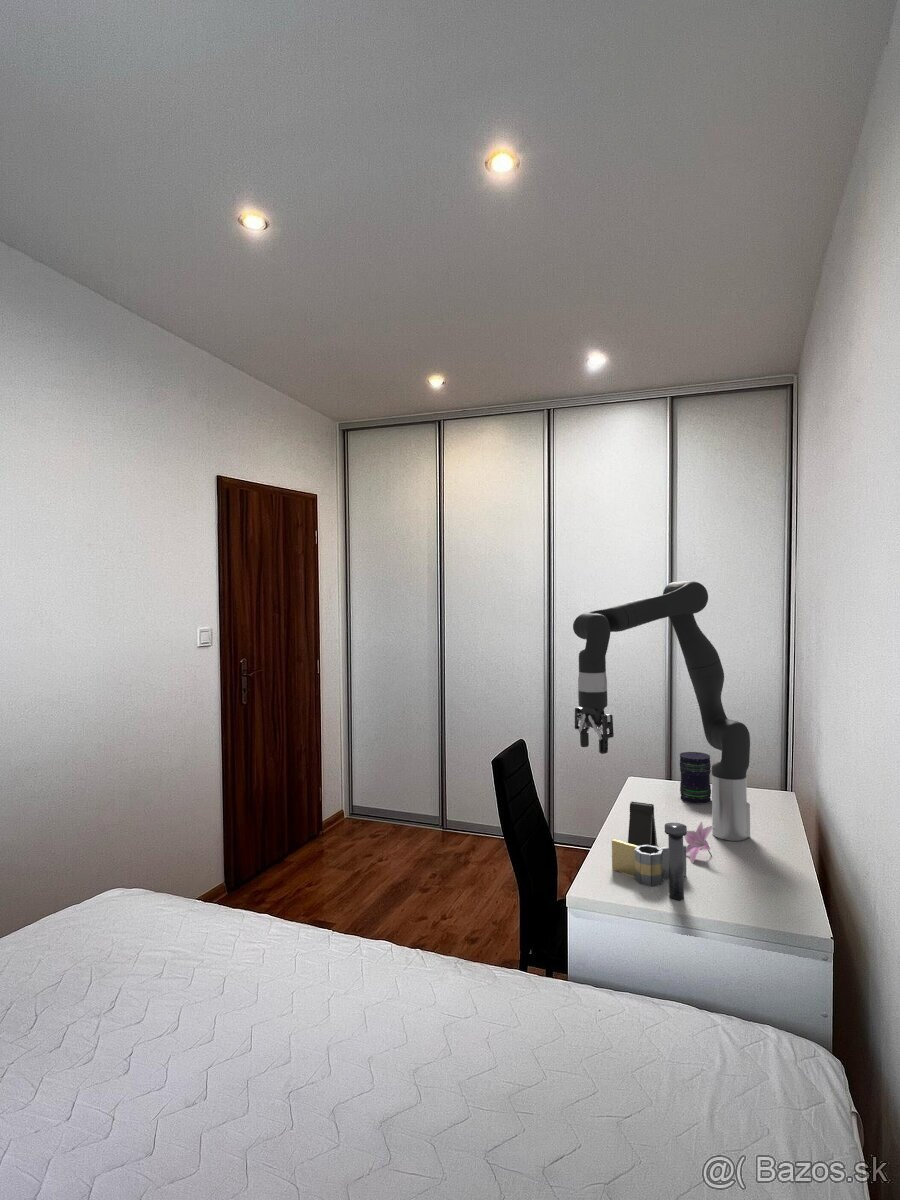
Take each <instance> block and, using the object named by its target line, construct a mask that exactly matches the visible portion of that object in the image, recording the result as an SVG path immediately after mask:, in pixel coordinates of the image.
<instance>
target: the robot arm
mask: <svg viewBox="0 0 900 1200" xmlns="http://www.w3.org/2000/svg"><path fill="white" fill-rule="evenodd" d="M708 601H709V594H708V590H707V588H706V587H705V586H704V585H703V584H702V583H700V582H698V581H692V580H685V581H674V582H670V583H668V584H667V585H666V586H665V587H664V590H663V593H662V595H657V596H652V597H651V596H650V597H646V598H639V599H635V600H631V601H626V602H623V603H620V604H617V605H614V606H611V607H609V608H608V607H607V608H603V609H596V610H591V611H588V612H584V613H581V614H579V615H578V616H577V617H576V618H575V619H574V621H573V625H572V630H573V632H574V634H575V636H577V637H578V638H580V639H582V640H586V641H585V647H584V649H581V650H580V651H579V653H578V678H577V682H578V683H577V689H578V690H577V695H578V696H577V697H578V706H579V707H575V708H574V729H575V730H577V731H578V733H579V739H580V740H579V743H580V745H579V746H580V747H582V748H588V747H589V746H590V745H589V744H590V739H589V731H590V728H592V729H593V730H594V732H595V733H596V734H597V737H598V753H599V754H602V755H603V754H608V752H609V739H612V738H614V718H613V714H611V713H607V714H605V708H607V707H608V678H607V668H606V666H607V665H606V663H607V661H606V656H607V652H608V648H609V642H610V637H611V633H612V632H613V633H620V632H624V631H627V630H631V629H633V628H637V627H639V626H642V625H645V624H648V623H651V622H655V621H657V620H662V619H665V618H669V621H670V622H671V625H672V627H673V629H674V632H675V634H676V638H677V640H678V644H679V647H680V649H681V652H682V655H683V659H684V663H685V667H686V669H687V671H688V675H689V678H690V681H691V684H692V688H693V691H694V693H695V697H696V700H697V703H698V707H699V712H700V716H701V722H702V728H703V732H704V736H705V739H706V741H707V743H708V744H709V745H710V746H711V747H712V748H714V749H717V750H719V751H721V759H720V761H717V762H714V763H713V764H711V808H712V809H711V811H712V812H711V813H712V814H711V819H712V820H711V821H712V824H711V826H714V827H713V829H712V831H711V832H712V835H713V836H714V837H716V838H718V839H720V840H721V839H722V840H726V841H732V842H733V841H735V842H739V841H745V840H746V839H747V838H750V837H751V807H750V806H751V804H750V803H749V802H747V801H748V798H747V796H748V795H747V790H748V789H747V771H748V769H749V766H750V758H751V756H750V755H751V736H750V731H749V729H748V727H747V725H745V724H744V723H742V722H741V721H738V720H733V719H729V718H728V717H727V715H726V712H725V709H724V707H723V703H722V692H723V687H724V683H725V673H724V668H723V665H722V662H721V658H720V655H719V653H718V651H717V649H716V648H715V646H714V645H713V643H712V642H711V641H710V640H709V639H708V638H707V636H706V635H705V634H704V633H703V631H702V630H701V629H700V626H699V625H698V623H697V621H696V618H695V614H698V613H701V611H703V610H704V609H705V608H706V606H707V604H708ZM579 721H580V722H579Z"/></svg>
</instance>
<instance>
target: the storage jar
mask: <svg viewBox="0 0 900 1200" xmlns="http://www.w3.org/2000/svg"><path fill="white" fill-rule="evenodd" d="M679 771H680V782H679V786H680V787H679V792H680V797H679V798H680V800H681V801H683V802H685V803H687V804H688V803H689V804H695V805H705V804H709V803H712V784H711V781H710V779H711V777H710V776H711V775H710V774H711V772H712V764H711V755H710V754H708V753H705V752H700V751H699V752H697V751H687V752H681V753H679Z"/></svg>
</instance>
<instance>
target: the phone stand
mask: <svg viewBox="0 0 900 1200" xmlns="http://www.w3.org/2000/svg"><path fill="white" fill-rule="evenodd" d="M656 828H657V827H656V821H655V806H654V804H652V803H645V802H638V801H631V802H630V803H629V821H628V833H627V843H629V844H633V845H636V846H640V845H651V846H657V844H658V839H657V830H656Z"/></svg>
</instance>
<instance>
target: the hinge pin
mask: <svg viewBox="0 0 900 1200" xmlns="http://www.w3.org/2000/svg"><path fill="white" fill-rule="evenodd" d="M687 831H688V829H687V825H685V824H683V823H680V822H667V823H665V824H664V834H665V835H667V836H668V839H667V840H668V846H669V879H668V893H669V895H668V896H669V899H671V900H672V901H676V902H681V901H684V899H685V887H684V886H685V885H684V884H685V881H684V880H685V877H684V866H683V845H684V836H685V835H686V834H687Z"/></svg>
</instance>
